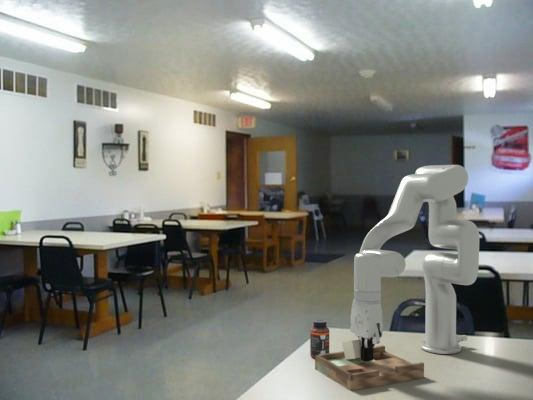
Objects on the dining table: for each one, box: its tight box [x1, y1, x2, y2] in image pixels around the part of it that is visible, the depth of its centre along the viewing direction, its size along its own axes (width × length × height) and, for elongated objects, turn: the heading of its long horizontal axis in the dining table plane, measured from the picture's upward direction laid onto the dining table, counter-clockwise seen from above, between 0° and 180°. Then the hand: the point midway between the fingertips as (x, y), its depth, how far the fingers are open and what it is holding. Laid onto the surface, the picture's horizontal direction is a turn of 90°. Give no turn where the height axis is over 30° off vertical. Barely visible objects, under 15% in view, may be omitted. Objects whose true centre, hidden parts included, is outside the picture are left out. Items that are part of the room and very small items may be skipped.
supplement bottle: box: [309, 319, 330, 359], centre depth 174 cm, size 6×6×11 cm
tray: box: [314, 345, 425, 392], centre depth 159 cm, size 24×19×4 cm
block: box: [342, 339, 361, 360], centre depth 163 cm, size 5×5×5 cm
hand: (366, 360), depth 159 cm, fingers closed
